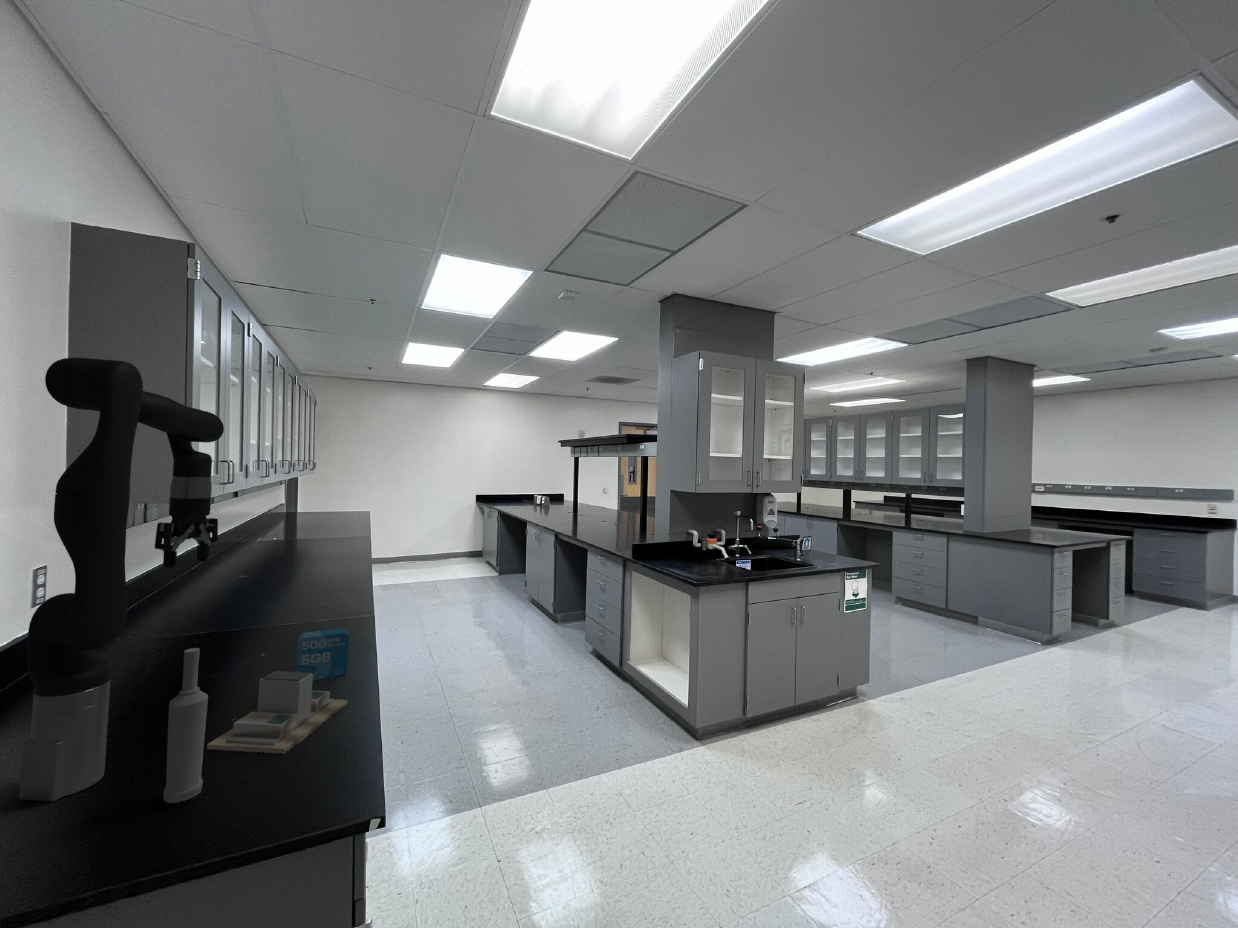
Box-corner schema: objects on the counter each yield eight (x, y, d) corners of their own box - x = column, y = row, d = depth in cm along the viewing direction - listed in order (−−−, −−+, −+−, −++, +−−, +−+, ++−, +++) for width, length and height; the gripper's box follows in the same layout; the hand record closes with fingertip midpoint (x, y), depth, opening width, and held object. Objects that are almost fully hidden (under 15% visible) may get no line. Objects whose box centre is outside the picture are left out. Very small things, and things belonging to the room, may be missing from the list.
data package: (295, 683, 133) (298, 638, 133) (295, 677, 136) (298, 633, 137) (347, 675, 139) (349, 631, 140) (345, 669, 143) (348, 627, 143)
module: (297, 723, 109) (299, 680, 110) (256, 721, 110) (259, 678, 110) (310, 713, 114) (313, 672, 114) (271, 711, 114) (274, 670, 114)
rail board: (284, 753, 100) (286, 732, 100) (207, 749, 101) (208, 727, 101) (347, 704, 122) (348, 686, 122) (283, 700, 123) (284, 682, 123)
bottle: (210, 786, 89) (218, 645, 90) (186, 806, 84) (195, 655, 85) (180, 786, 89) (188, 644, 90) (154, 805, 84) (163, 654, 85)
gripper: (179, 497, 113) (174, 570, 112) (230, 495, 127) (226, 560, 126) (146, 496, 113) (142, 568, 112) (201, 494, 127) (197, 558, 127)
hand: (186, 564), depth 119 cm, fingers open, 8 cm apart
